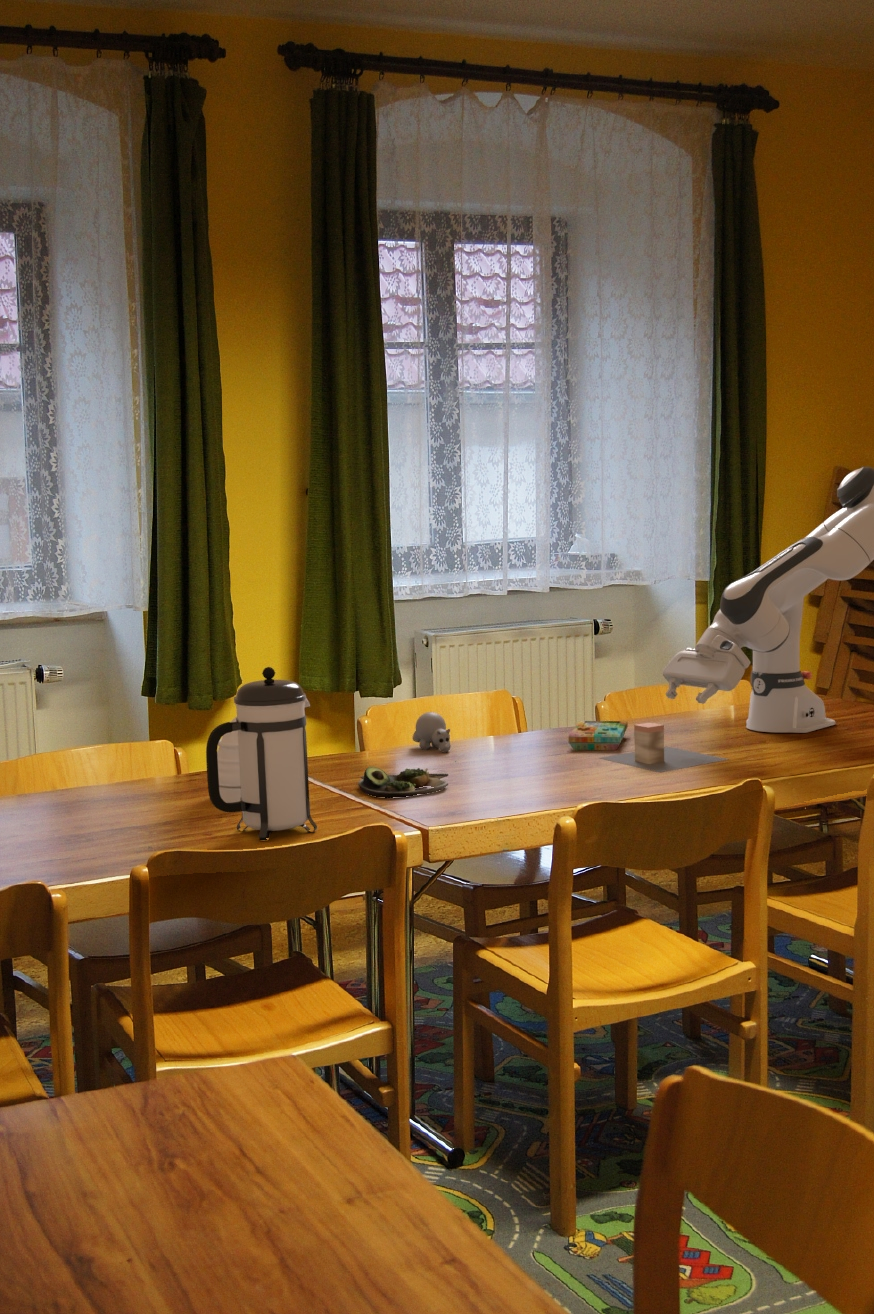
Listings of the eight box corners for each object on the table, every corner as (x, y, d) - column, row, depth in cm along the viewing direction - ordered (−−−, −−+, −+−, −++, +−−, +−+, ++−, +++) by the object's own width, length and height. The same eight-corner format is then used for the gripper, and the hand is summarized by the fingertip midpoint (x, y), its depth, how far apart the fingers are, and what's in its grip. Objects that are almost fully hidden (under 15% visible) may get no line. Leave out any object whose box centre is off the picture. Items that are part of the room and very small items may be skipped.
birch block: (650, 758, 285) (649, 722, 284) (664, 761, 281) (663, 725, 280) (634, 761, 282) (634, 724, 281) (648, 764, 278) (648, 727, 278)
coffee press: (251, 819, 243) (242, 661, 240) (330, 822, 239) (322, 661, 235) (209, 843, 227) (199, 674, 223) (293, 847, 222) (284, 675, 218)
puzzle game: (568, 732, 296) (579, 717, 316) (568, 752, 297) (579, 736, 316) (619, 733, 294) (627, 718, 313) (620, 753, 294) (627, 737, 313)
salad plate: (432, 775, 278) (431, 754, 277) (469, 791, 262) (468, 769, 261) (348, 786, 270) (347, 765, 269) (380, 803, 254) (379, 780, 253)
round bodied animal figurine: (431, 765, 300) (436, 734, 296) (407, 739, 309) (412, 708, 305) (457, 760, 303) (463, 729, 300) (433, 735, 312) (438, 704, 309)
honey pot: (287, 792, 265) (283, 705, 263) (254, 806, 254) (249, 716, 251) (234, 788, 270) (229, 703, 268) (199, 802, 259) (194, 714, 257)
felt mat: (666, 747, 297) (666, 746, 297) (729, 760, 281) (729, 759, 281) (598, 759, 287) (598, 758, 287) (660, 773, 270) (660, 772, 270)
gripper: (675, 639, 296) (644, 685, 292) (741, 645, 279) (709, 695, 275) (690, 656, 299) (659, 703, 295) (756, 663, 282) (725, 713, 278)
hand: (684, 699), depth 285 cm, fingers open, 8 cm apart
